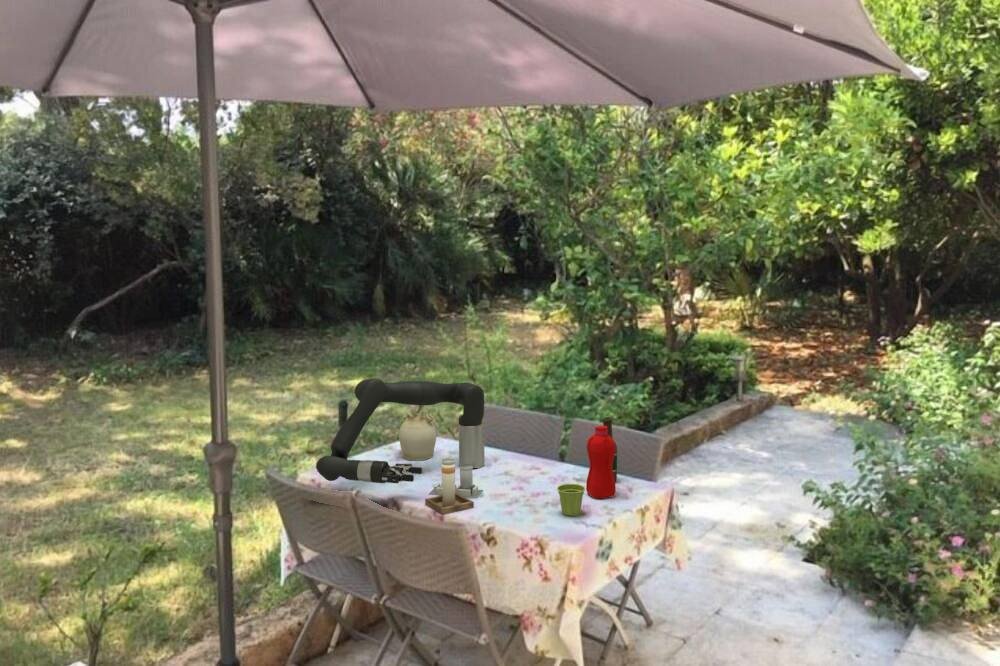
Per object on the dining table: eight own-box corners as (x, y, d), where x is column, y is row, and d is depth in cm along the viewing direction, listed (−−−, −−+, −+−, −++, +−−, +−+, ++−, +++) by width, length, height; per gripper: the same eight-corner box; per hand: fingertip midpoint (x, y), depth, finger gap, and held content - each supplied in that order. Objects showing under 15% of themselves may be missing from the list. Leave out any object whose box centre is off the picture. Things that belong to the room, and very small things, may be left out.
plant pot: (551, 512, 272) (551, 487, 271) (572, 506, 277) (572, 481, 276) (569, 520, 264) (569, 494, 263) (591, 514, 270) (591, 489, 268)
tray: (455, 499, 284) (455, 492, 284) (473, 509, 275) (473, 501, 274) (425, 506, 278) (425, 498, 278) (442, 517, 268) (442, 509, 268)
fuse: (468, 490, 292) (467, 463, 291) (475, 493, 289) (474, 466, 287) (457, 492, 290) (457, 465, 288) (464, 496, 286) (464, 468, 285)
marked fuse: (451, 502, 279) (450, 457, 277) (458, 506, 275) (457, 460, 273) (439, 505, 277) (438, 459, 275) (446, 509, 273) (445, 463, 271)
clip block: (427, 496, 288) (427, 488, 288) (435, 488, 297) (435, 480, 296) (477, 500, 284) (476, 492, 283) (483, 492, 292) (483, 484, 292)
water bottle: (604, 488, 296) (604, 420, 292) (618, 497, 285) (619, 427, 282) (581, 491, 293) (581, 423, 289) (595, 500, 282) (595, 430, 279)
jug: (444, 456, 338) (443, 397, 335) (415, 464, 327) (414, 403, 323) (420, 449, 348) (418, 392, 345) (391, 457, 337) (390, 397, 334)
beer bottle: (612, 485, 298) (612, 421, 295) (592, 482, 303) (593, 419, 299) (620, 479, 305) (621, 417, 302) (601, 476, 309) (602, 414, 306)
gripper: (364, 466, 274) (410, 469, 270) (380, 455, 287) (424, 457, 284) (365, 488, 275) (410, 491, 271) (381, 475, 288) (424, 478, 285)
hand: (417, 474), depth 277 cm, fingers open, 8 cm apart
